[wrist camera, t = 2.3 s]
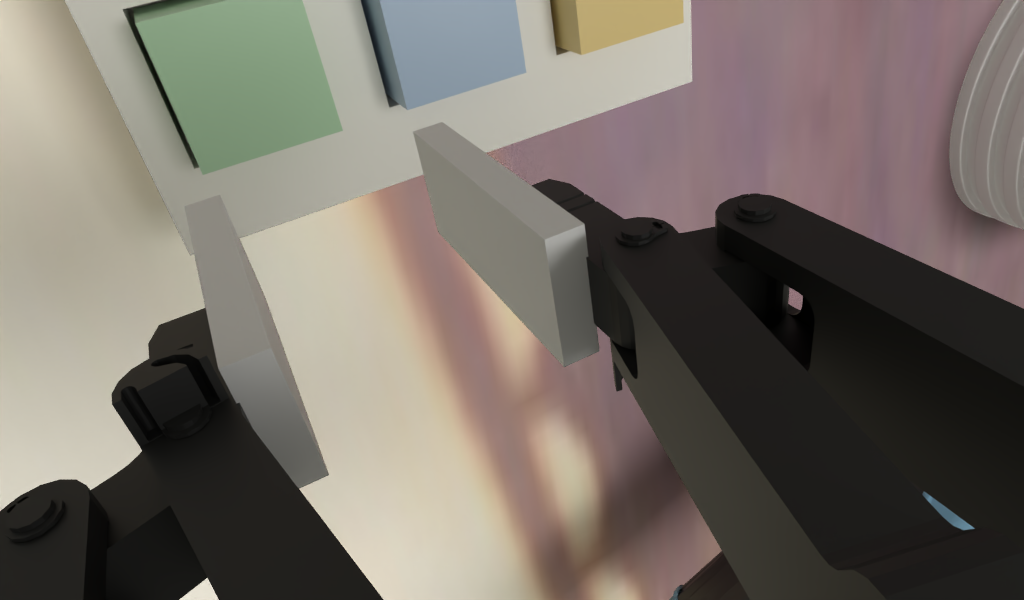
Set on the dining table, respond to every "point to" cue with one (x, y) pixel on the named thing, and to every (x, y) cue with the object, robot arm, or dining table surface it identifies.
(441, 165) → the robot arm
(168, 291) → the dining table surface
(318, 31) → the key panel
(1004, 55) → the plate stack
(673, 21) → the key ochre
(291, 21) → the key sage
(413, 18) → the key blue
